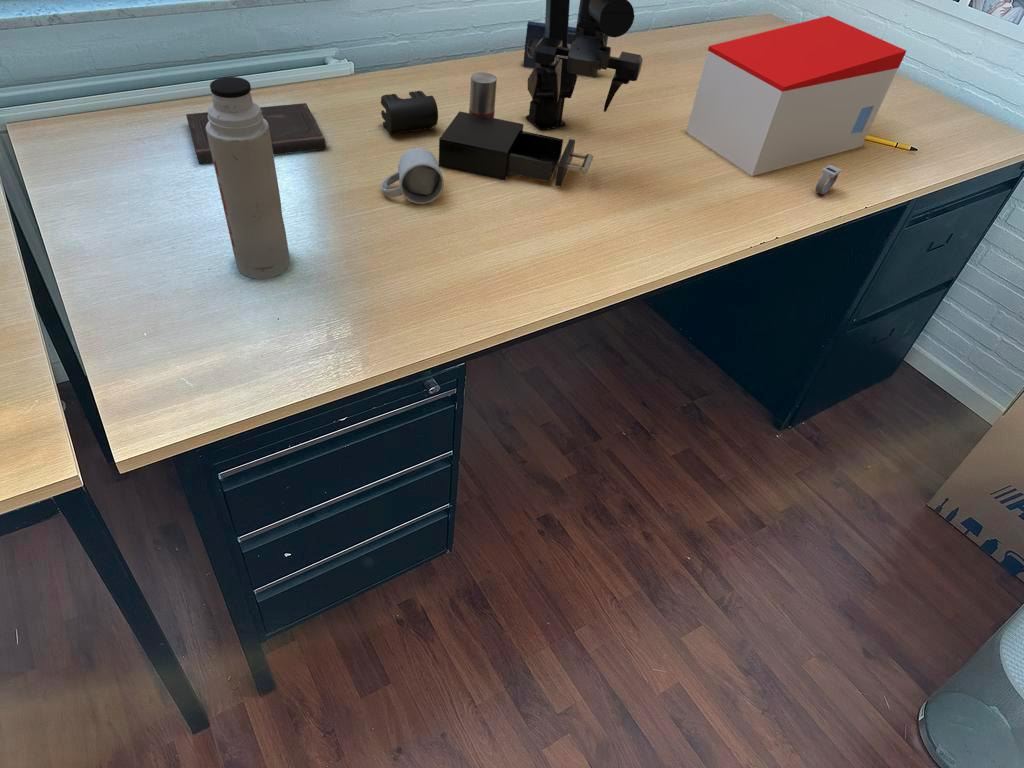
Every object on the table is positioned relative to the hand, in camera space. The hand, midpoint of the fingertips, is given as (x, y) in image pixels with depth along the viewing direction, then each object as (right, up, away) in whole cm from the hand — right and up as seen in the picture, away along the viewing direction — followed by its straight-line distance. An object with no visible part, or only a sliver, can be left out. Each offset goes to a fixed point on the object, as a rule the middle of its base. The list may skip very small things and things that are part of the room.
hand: (580, 106), depth 132 cm
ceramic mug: (-31, -17, -3) cm, 35 cm away
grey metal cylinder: (-19, +3, +19) cm, 27 cm away
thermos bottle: (-51, -33, -21) cm, 65 cm away
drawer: (-6, -10, +6) cm, 13 cm away
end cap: (-34, +1, +14) cm, 37 cm away
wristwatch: (+50, -13, +11) cm, 53 cm away
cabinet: (-19, -7, +8) cm, 22 cm away
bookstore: (+46, +3, +27) cm, 53 cm away
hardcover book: (-62, -4, +6) cm, 63 cm away
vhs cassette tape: (-1, +26, +44) cm, 51 cm away
